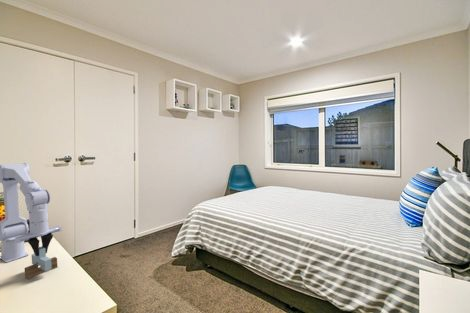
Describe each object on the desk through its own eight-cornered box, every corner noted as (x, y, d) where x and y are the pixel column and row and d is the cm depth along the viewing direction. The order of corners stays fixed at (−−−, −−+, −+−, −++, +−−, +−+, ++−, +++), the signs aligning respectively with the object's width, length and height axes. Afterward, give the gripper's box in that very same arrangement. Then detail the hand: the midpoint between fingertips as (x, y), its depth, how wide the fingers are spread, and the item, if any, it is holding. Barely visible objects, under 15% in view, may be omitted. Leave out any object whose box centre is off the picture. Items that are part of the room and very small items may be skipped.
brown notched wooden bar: (25, 277, 90) (24, 267, 90) (55, 266, 98) (54, 256, 98) (27, 279, 89) (26, 269, 89) (57, 267, 97) (57, 257, 97)
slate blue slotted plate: (32, 263, 96) (31, 246, 95) (38, 261, 97) (37, 244, 97) (45, 271, 90) (44, 252, 89) (51, 268, 91) (50, 250, 91)
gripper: (19, 228, 84) (21, 264, 85) (64, 217, 97) (66, 249, 98) (11, 225, 88) (14, 260, 88) (56, 215, 100) (58, 245, 101)
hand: (40, 254), depth 93 cm, fingers closed on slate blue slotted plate, 2 cm apart
